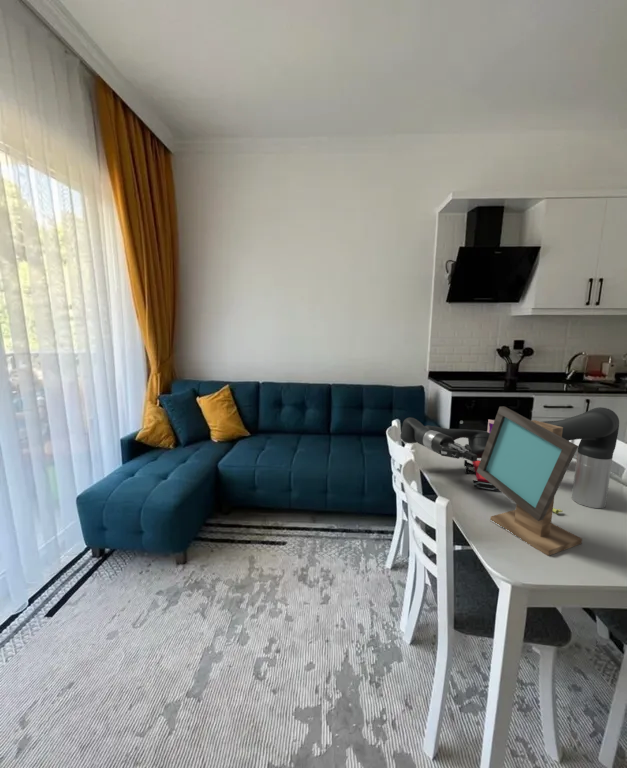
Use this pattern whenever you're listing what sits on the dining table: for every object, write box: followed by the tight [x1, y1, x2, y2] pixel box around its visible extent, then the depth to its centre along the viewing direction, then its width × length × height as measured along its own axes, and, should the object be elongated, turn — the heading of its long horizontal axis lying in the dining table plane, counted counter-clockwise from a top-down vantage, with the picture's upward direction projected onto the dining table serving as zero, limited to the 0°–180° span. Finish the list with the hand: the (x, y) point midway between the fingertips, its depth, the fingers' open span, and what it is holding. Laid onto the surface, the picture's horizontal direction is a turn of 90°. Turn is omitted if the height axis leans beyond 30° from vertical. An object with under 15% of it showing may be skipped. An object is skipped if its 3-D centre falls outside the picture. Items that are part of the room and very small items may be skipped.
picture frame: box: [477, 405, 579, 521], centre depth 98 cm, size 2×22×24 cm, turn 22°
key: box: [552, 507, 564, 515], centre depth 116 cm, size 7×12×2 cm, turn 26°
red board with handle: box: [463, 459, 500, 492], centre depth 140 cm, size 30×3×15 cm
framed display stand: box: [489, 419, 583, 557], centre depth 98 cm, size 14×18×33 cm
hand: (475, 458), depth 113 cm, fingers closed
